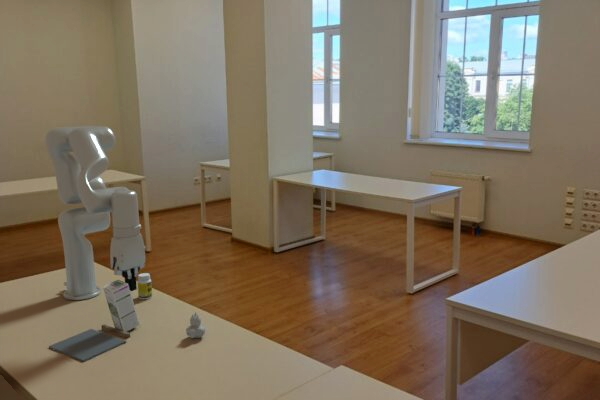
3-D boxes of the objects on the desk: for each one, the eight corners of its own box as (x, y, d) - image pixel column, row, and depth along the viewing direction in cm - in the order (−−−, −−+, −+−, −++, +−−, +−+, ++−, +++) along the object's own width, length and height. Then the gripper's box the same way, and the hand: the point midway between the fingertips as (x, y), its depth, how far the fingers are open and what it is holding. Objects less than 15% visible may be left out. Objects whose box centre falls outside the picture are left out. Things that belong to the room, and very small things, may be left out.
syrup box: (140, 324, 169) (129, 282, 165) (123, 333, 165) (111, 290, 161) (130, 319, 173) (119, 278, 169) (113, 328, 169) (101, 286, 165)
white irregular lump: (208, 334, 164) (207, 308, 163) (199, 343, 158) (198, 317, 156) (191, 332, 165) (190, 307, 164) (182, 342, 159) (180, 316, 158)
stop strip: (101, 329, 169) (101, 325, 169) (104, 328, 170) (104, 324, 169) (127, 338, 162) (127, 334, 162) (130, 336, 163) (130, 333, 163)
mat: (48, 347, 157) (48, 346, 156) (91, 330, 168) (91, 328, 168) (83, 362, 148) (83, 360, 148) (126, 342, 159) (125, 340, 159)
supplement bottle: (150, 299, 193) (148, 276, 191) (136, 299, 193) (135, 276, 191) (154, 295, 198) (152, 272, 196) (140, 295, 198) (139, 272, 196)
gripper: (138, 225, 174) (141, 280, 177) (97, 235, 162) (102, 294, 165) (154, 227, 170) (158, 284, 173) (114, 238, 158) (119, 299, 161)
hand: (131, 289), depth 169 cm, fingers closed
